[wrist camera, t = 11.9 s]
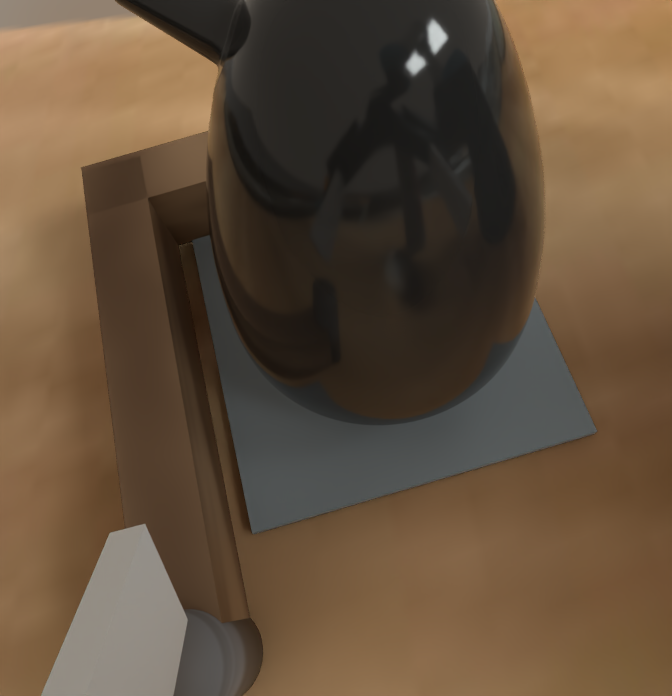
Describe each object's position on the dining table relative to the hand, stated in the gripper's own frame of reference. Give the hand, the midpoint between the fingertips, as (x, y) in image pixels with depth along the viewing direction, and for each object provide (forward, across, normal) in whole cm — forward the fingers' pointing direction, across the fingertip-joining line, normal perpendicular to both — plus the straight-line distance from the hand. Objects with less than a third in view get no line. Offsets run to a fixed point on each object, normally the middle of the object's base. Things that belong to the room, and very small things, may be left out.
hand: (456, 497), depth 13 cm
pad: (+12, 0, 0) cm, 12 cm away
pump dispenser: (+12, 0, 0) cm, 12 cm away
